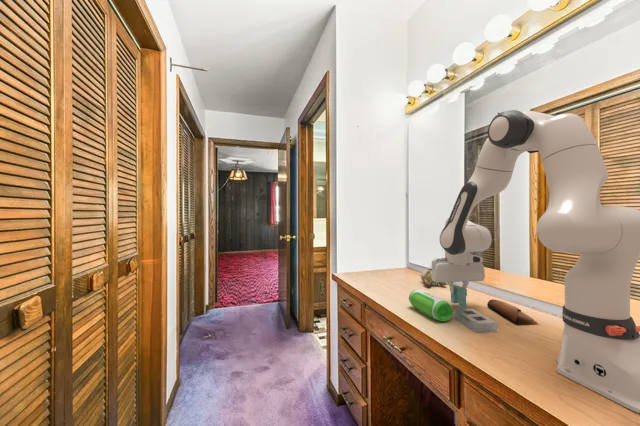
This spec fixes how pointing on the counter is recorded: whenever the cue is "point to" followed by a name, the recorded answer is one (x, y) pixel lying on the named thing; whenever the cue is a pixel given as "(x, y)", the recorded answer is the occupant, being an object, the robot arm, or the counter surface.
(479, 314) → the grey slotted block
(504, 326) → the counter surface
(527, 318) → the brown tapered cylinder
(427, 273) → the ceramic sculpture
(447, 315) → the speaker
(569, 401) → the counter surface
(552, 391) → the counter surface
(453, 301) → the clip
